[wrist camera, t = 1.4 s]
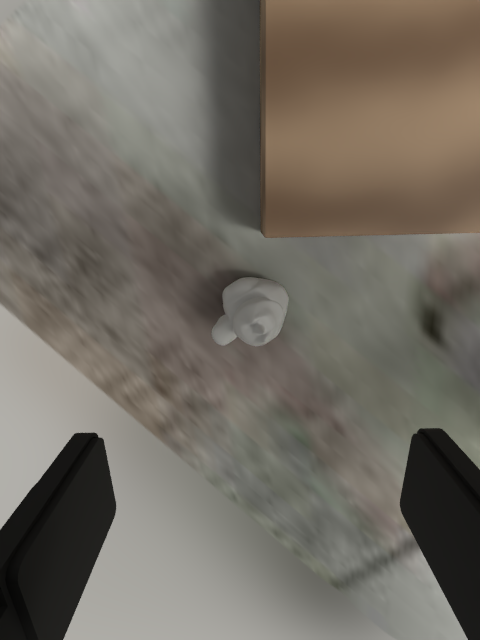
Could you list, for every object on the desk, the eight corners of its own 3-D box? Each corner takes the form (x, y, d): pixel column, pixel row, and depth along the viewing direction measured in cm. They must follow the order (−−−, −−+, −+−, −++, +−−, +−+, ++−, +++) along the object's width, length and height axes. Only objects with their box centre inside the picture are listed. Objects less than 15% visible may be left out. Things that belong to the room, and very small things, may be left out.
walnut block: (441, 227, 25) (499, 232, 19) (260, 231, 25) (265, 237, 19) (495, -88, 19) (602, -216, 13) (259, -78, 19) (266, -199, 14)
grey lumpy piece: (298, 310, 27) (320, 348, 20) (234, 349, 28) (231, 399, 21) (264, 256, 26) (273, 275, 18) (198, 300, 27) (181, 335, 19)
